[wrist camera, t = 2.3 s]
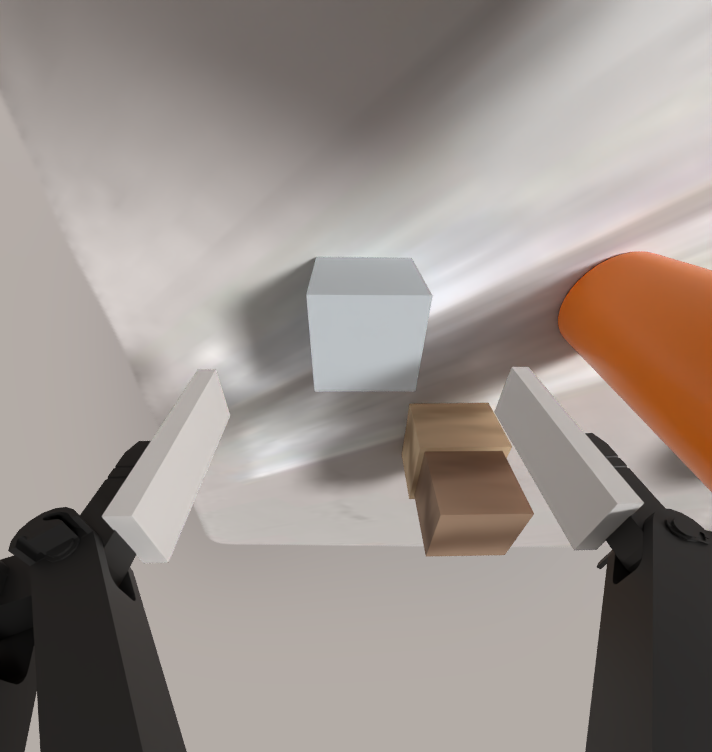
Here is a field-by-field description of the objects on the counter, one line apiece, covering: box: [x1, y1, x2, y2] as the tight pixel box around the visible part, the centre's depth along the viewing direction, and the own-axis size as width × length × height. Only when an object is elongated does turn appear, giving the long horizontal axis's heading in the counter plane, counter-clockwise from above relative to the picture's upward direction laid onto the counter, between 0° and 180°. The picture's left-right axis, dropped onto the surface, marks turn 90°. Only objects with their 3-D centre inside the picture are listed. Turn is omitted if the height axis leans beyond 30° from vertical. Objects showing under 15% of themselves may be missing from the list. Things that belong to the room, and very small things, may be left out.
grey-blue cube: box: [306, 257, 432, 392], centre depth 19 cm, size 6×6×6 cm
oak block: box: [402, 403, 512, 499], centre depth 27 cm, size 7×7×5 cm
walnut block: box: [414, 451, 534, 556], centre depth 23 cm, size 6×6×5 cm
